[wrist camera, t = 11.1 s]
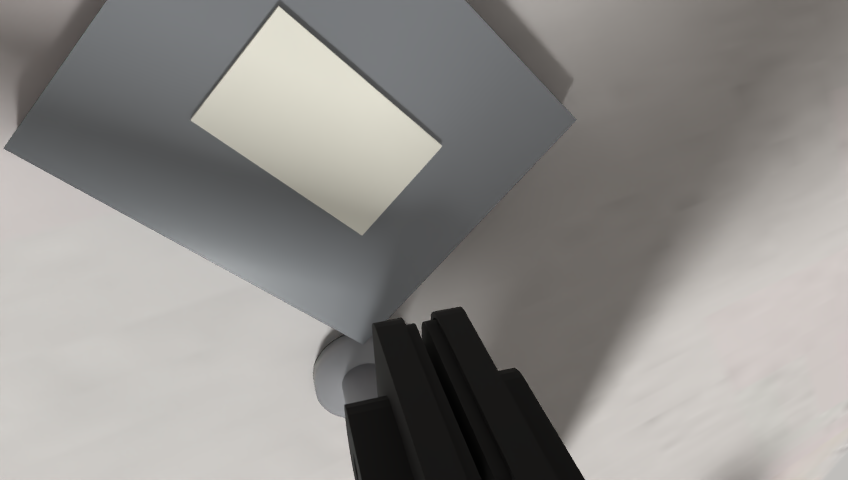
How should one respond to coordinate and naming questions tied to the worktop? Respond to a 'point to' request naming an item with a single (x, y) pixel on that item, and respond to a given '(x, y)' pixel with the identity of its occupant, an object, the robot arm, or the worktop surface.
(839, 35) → the worktop surface
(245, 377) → the worktop surface
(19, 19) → the worktop surface
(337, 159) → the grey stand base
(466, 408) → the robot arm
